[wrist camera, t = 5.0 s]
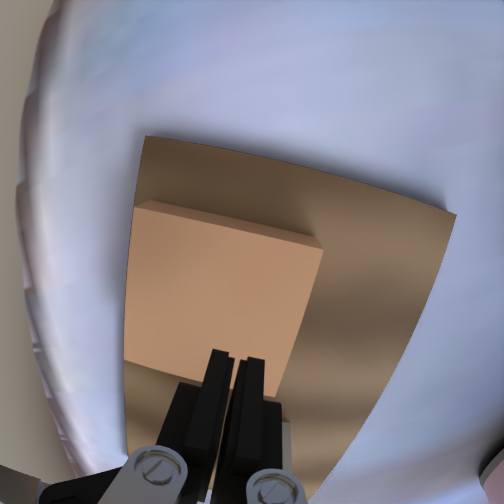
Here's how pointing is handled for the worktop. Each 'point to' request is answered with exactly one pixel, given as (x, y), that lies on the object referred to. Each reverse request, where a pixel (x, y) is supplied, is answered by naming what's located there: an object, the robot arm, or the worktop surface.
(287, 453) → the grey-blue tile
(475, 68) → the worktop surface
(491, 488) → the blender
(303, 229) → the walnut board
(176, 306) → the terracotta tile
